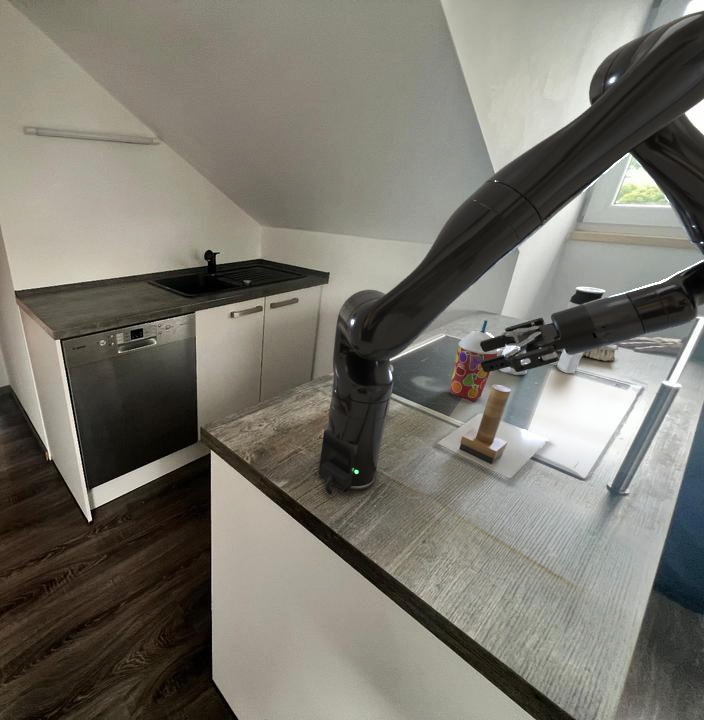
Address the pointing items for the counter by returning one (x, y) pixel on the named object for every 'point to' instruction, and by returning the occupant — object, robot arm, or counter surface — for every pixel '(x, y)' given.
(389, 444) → the counter surface
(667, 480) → the counter surface
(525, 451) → the tile
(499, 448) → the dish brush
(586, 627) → the counter surface
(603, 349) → the shoe brush
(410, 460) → the counter surface
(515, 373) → the crystal
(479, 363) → the smoothie
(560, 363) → the eye dropper bottle
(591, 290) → the travel mug
